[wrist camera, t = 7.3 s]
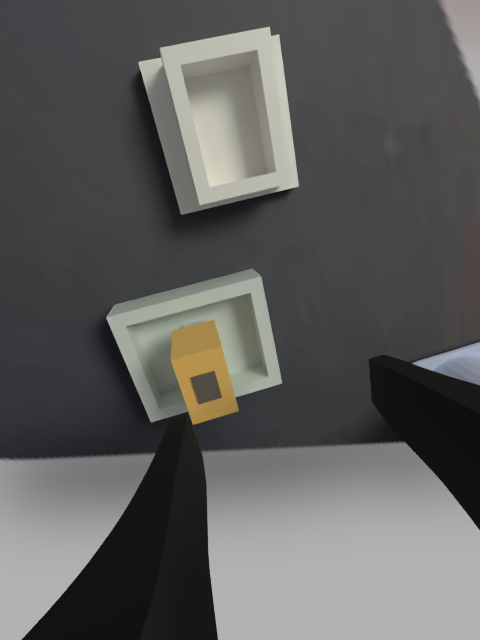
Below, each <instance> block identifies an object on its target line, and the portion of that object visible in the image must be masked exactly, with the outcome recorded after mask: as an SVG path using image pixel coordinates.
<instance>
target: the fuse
mask: <svg viewBox="0 0 480 640" xmlns="http://www.w3.org/2000/svg"><path fill="white" fill-rule="evenodd" d="M171 363H172V366H173V368H174V371H175V374H176V377H177V380H178V383H179V386H180V389H181V391H182V394H183V397H184V400H185V403H186V406H187V409H188V412H189V414H190V417H191V420H192V423H193V425H194V424H197V423H201V422H204V421H207V420H211V419H214V418H217V417H221V416H224V415H228V414H231V413H234V412H238V411H239V410H238V406H237V402H236V398H235V394H234V391H233V387H232V383H231V379H230V376H229V372H228V368H227V364H226V361H225V357H224V353H223V349H222V346H221V342H220V339H219V335H218V332H217V328H216V325H215V321H214V320H211V321H207V322H206V319H203V320H199V321H196V322H192V323H188V324H184V325H183V328H181V329H177V330H173V331H172V346H171Z"/></svg>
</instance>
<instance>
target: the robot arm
mask: <svg viewBox="0 0 480 640" xmlns="http://www.w3.org/2000/svg"><path fill="white" fill-rule="evenodd" d="M369 367H370V381H371V395H372V402H373V404H374V405H375V407H376V408H377V409H378V411H379V412H380V414H381V415H382V416H383V418H384V419H385V420H386V422H387V423H388V424H389V425H390V426H391V427H392V429H393V430H394V431H395V432H396V433H397V434H398V435H399V436H400V437H401V438H402V439H403V440H404V441H405V442H406V444H407V445H408V446H410V448H411V449H412V450H413V451H414V452H415V453H416V454H417V455H418V456H419V457H420V458H421V459H422V460H423V461H424V462H425V464H426V465H427V466H428V467H429V468H430V469H431V470H432V471H433V472H434V473H435V474H436V475H437V476H438V478H439V479H440V480H441V481H442V482H443V483H444V485H445V486H446V487H447V488H448V490H449V491H450V492H451V493H452V495H454V497H455V498H456V500H457V501H458V502H459V504H460V505H461V506H462V507H463V509H464V510H465V511H466V512H467V514H468V515H469V516H470V518H471V519H472V520H473V522H474V523H475V524H476V526H477V527H478V528H479V530H480V342H478V343H475V344H471V345H468V346H465V347H461V348H458V349H455V350H452V351H448V352H445V353H442V354H439V355H435V356H432V357H429V358H425V359H422V360H419V361H416V362H413V363H412V364H411V363H408V362H405V361H402V360H399V359H396V358H393V357H390V356H386V355H381V356H378V357H374V358H371V359H369ZM22 640H218V638H217V629H216V621H215V613H214V604H213V596H212V588H211V578H210V569H209V556H208V528H207V494H206V478H205V470H204V463H203V457H202V453H201V451H200V448H199V445H198V443H197V440H196V437H195V435H194V432H193V429H192V427H191V424H190V421H189V419H188V416H187V415H185V416H182V417H179V418H176V419H172V420H171V421H170V422H169V424H168V427H167V429H166V431H165V434H164V436H163V438H162V441H161V443H160V445H159V448H158V450H157V452H156V454H155V456H154V458H153V460H152V462H151V464H150V467H149V469H148V471H147V473H146V474H145V476H144V478H143V480H142V482H141V484H140V485H139V487H138V489H137V491H136V493H135V495H134V496H133V498H132V500H131V502H130V503H129V505H128V507H127V508H126V510H125V511H124V513H123V514H122V516H121V518H120V519H119V521H118V522H117V524H116V525H115V527H114V528H113V530H112V531H111V533H110V534H109V535H108V537H107V538H106V539H105V541H104V542H103V544H102V545H101V546H100V548H99V549H98V551H97V552H96V553H95V554H94V556H93V557H92V559H91V560H90V561H89V563H88V564H87V565H86V566H85V568H84V569H83V570H82V571H81V573H80V574H79V575H78V576H77V578H76V579H75V580H74V581H73V583H72V584H71V585H70V586H69V587H68V588H67V590H66V591H65V592H64V593H63V594H62V596H61V597H60V598H59V599H58V600H57V601H56V603H55V604H54V605H53V606H52V607H51V608H50V610H49V611H48V612H47V613H46V614H45V615H44V616H43V617H42V618H41V619H40V620H39V621H38V623H37V624H36V625H35V626H34V627H33V628H32V629H31V630H30V631H29V632H28V633H27V635H26V636H25V637H24V638H23V639H22Z"/></svg>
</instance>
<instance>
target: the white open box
mask: <svg viewBox="0 0 480 640" xmlns="http://www.w3.org/2000/svg"><path fill="white" fill-rule="evenodd" d="M160 54H161V58H157V59H152V60H147V61H141V62H138V63H139V67H140V70H141V74H142V77H143V81H144V84H145V88H146V91H147V95H148V99H149V102H150V106H151V109H152V113H153V116H154V120H155V124H156V127H157V131H158V134H159V138H160V141H161V145H162V149H163V152H164V156H165V159H166V163H167V166H168V170H169V174H170V177H171V181H172V184H173V188H174V191H175V195H176V199H177V202H178V206H179V209H180V213H181V215H183V214H187V213H191V212H195V211H200V210H204V209H208V208H212V207H216V206H220V205H224V204H229V203H233V202H237V201H241V200H245V199H249V198H253V197H257V196H262V195H266V194H270V193H274V192H278V191H282V190H286V189H291V188H295V187H299V184H298V176H297V169H296V161H295V153H294V146H293V138H292V130H291V123H290V115H289V107H288V100H287V92H286V84H285V77H284V69H283V61H282V53H281V46H280V38H279V35H274V36H271V33H270V27H266V28H261V29H255V30H250V31H245V32H240V33H235V34H230V35H224V36H219V37H214V38H209V39H204V40H198V41H193V42H188V43H183V44H178V45H172V46H167V47H162V48H160Z"/></svg>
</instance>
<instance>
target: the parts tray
mask: <svg viewBox="0 0 480 640" xmlns="http://www.w3.org/2000/svg"><path fill="white" fill-rule="evenodd" d="M106 319H107V321H108V323H109V326H110V328H111V330H112V333H113V335H114V337H115V340H116V342H117V344H118V347H119V349H120V351H121V354H122V356H123V358H124V361H125V363H126V365H127V368H128V370H129V372H130V375H131V377H132V379H133V382H134V384H135V386H136V389H137V391H138V393H139V396H140V398H141V400H142V403H143V405H144V407H145V410H146V412H147V414H148V417H149V419H150V421H151V422H155V421H158V420H161V419H165V418H168V417H171V416H175V415H178V414H181V413H185V412H188V409H187V406H186V403H185V400H184V397H183V394H182V391H181V389H180V386H179V383H178V380H177V377H176V374H175V371H174V368H173V366H172V363H171V346H172V331H173V330H177V329H181V328H183V325H184V324H188V323H192V322H196V321H199V320H203V319H206V322H207V321H211V320H214V321H215V325H216V328H217V332H218V335H219V339H220V342H221V346H222V349H223V353H224V357H225V361H226V364H227V368H228V372H229V376H230V379H231V383H232V387H233V391H234V394H235V397H238V396H242V395H245V394H248V393H252V392H255V391H258V390H262V389H265V388H268V387H272V386H275V385H278V384H282V380H281V375H280V370H279V365H278V360H277V355H276V350H275V345H274V339H273V334H272V329H271V324H270V319H269V314H268V309H267V304H266V299H265V294H264V289H263V283H262V278H261V276H260V275H259V274H258V273H257V272H256V271H255V270H254V269H249V270H245V271H241V272H237V273H233V274H230V275H226V276H222V277H218V278H214V279H211V280H207V281H203V282H199V283H195V284H192V285H188V286H184V287H180V288H176V289H173V290H169V291H165V292H161V293H157V294H154V295H150V296H146V297H142V298H138V299H134V300H131V301H127V302H123V303H119V304H115V305H114V306H113V308H112V309H111V311H110V312H109V314H108V315H107V317H106Z"/></svg>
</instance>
